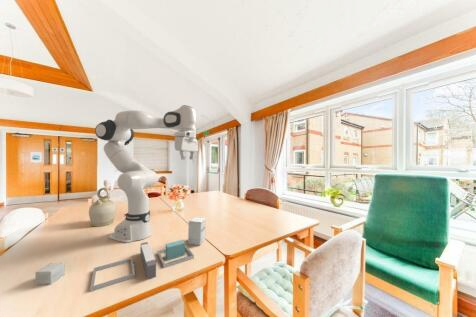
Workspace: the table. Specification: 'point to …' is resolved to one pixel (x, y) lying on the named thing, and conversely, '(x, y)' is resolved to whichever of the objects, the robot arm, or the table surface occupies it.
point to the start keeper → (175, 260)
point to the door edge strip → (148, 260)
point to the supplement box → (196, 231)
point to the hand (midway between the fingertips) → (187, 159)
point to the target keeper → (94, 287)
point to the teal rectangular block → (175, 250)
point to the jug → (102, 210)
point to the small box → (49, 273)
